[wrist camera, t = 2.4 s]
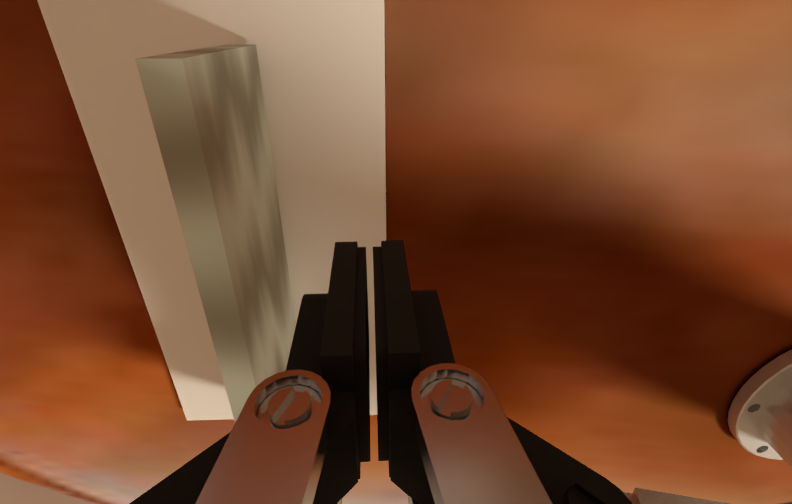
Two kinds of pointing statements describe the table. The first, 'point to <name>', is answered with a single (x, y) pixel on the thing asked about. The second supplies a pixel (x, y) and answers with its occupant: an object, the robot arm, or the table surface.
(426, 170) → the table surface
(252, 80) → the gate leaf
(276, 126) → the base
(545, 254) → the table surface
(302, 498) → the robot arm
